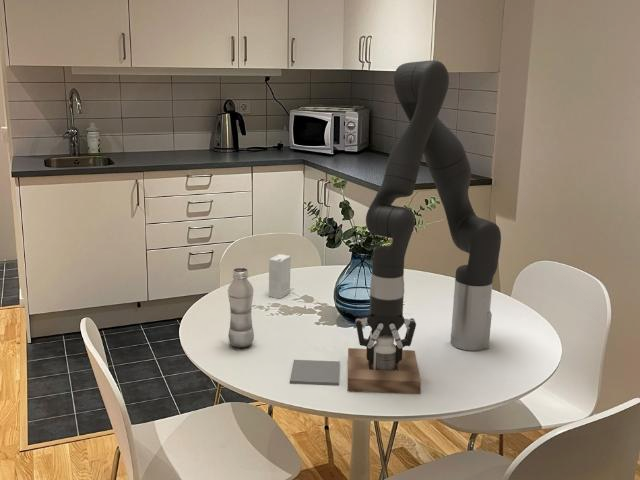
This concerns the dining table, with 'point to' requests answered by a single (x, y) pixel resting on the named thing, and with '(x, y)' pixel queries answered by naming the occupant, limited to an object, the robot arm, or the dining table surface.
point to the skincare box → (279, 276)
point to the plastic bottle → (240, 309)
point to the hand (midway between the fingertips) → (383, 361)
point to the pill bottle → (384, 354)
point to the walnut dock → (383, 374)
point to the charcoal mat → (315, 372)
